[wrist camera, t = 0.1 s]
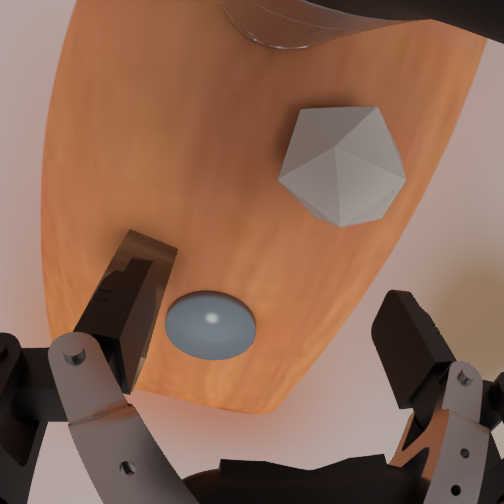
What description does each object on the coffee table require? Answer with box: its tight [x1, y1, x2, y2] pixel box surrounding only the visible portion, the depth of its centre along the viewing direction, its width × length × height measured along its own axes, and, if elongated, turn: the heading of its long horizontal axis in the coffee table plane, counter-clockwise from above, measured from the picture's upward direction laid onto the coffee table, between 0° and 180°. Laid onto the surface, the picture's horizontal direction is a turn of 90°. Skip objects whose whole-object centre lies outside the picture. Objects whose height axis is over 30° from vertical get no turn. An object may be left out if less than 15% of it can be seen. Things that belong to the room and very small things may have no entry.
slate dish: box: [165, 291, 255, 360], centre depth 35 cm, size 10×10×1 cm
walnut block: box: [82, 229, 178, 392], centre depth 25 cm, size 5×5×13 cm
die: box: [278, 106, 406, 227], centre depth 21 cm, size 8×9×10 cm
